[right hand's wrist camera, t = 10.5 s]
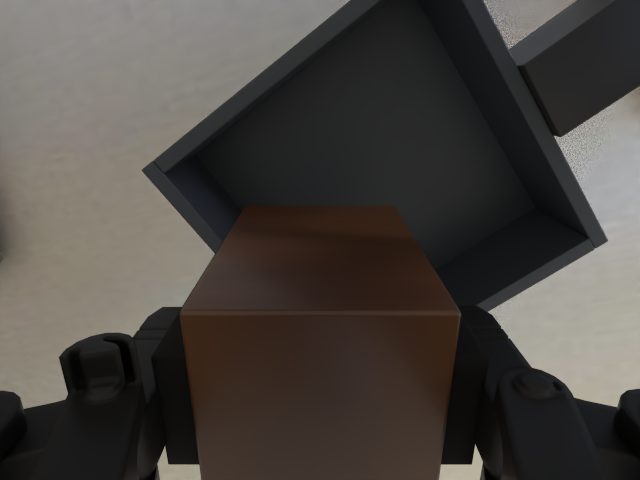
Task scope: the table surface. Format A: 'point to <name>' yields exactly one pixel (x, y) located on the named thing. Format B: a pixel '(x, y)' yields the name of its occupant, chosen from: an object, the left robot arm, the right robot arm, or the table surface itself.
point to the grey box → (421, 134)
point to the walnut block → (320, 349)
